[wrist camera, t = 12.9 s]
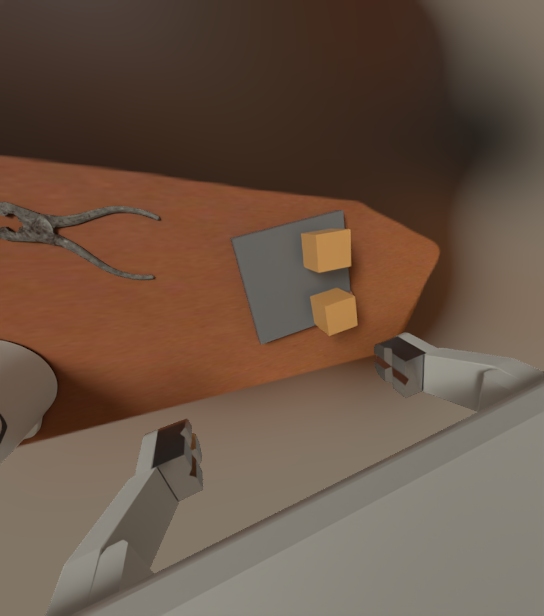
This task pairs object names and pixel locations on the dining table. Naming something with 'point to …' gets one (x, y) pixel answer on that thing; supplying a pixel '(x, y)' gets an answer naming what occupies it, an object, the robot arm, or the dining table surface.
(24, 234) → the pliers
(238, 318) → the dining table surface
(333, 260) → the tan wooden toy brick
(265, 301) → the board
